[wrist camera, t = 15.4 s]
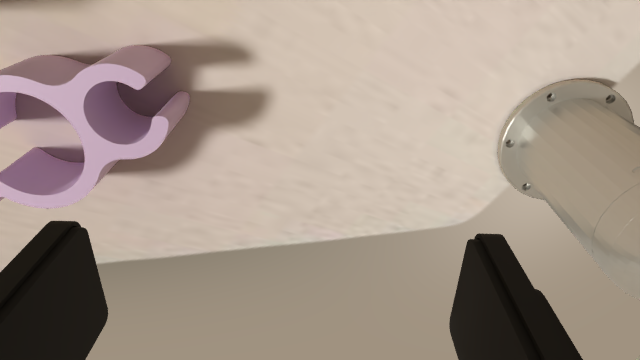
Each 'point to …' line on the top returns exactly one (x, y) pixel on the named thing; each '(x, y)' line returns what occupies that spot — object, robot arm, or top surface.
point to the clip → (84, 121)
